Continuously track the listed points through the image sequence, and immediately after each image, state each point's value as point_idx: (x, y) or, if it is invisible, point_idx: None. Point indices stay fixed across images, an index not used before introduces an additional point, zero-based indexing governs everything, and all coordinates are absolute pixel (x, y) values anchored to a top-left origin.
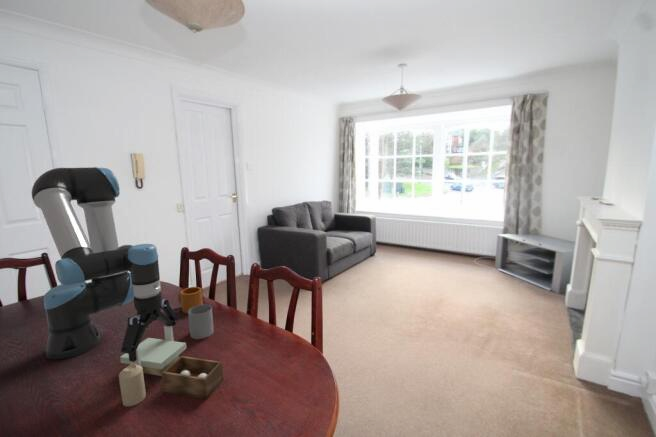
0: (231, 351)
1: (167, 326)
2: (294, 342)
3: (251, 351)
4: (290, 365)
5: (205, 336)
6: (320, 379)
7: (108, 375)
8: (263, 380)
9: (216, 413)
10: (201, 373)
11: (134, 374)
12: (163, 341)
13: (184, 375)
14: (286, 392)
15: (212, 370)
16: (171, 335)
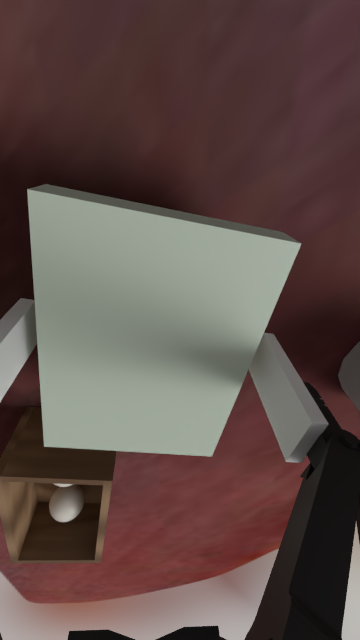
0: (235, 475)
1: (301, 442)
2: (257, 552)
3: (230, 507)
4: (172, 561)
5: (345, 392)
6: (135, 589)
7: (42, 79)
8: (120, 544)
9: None
10: (67, 515)
11: None
12: (233, 365)
13: (7, 527)
14: (94, 569)
15: (56, 561)
16: (264, 407)
